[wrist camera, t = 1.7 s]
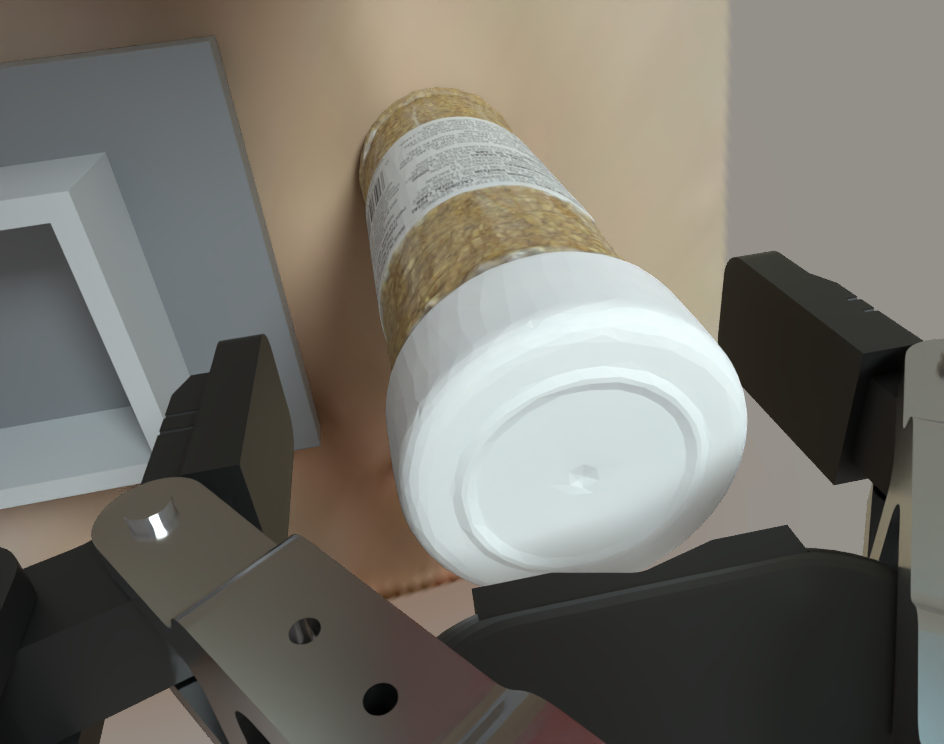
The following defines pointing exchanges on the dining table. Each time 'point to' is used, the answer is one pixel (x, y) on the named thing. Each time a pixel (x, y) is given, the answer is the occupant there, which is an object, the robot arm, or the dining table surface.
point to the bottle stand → (124, 260)
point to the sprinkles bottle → (532, 361)
